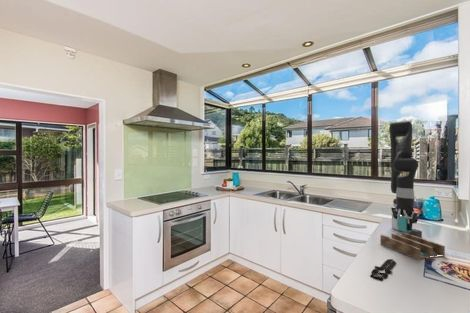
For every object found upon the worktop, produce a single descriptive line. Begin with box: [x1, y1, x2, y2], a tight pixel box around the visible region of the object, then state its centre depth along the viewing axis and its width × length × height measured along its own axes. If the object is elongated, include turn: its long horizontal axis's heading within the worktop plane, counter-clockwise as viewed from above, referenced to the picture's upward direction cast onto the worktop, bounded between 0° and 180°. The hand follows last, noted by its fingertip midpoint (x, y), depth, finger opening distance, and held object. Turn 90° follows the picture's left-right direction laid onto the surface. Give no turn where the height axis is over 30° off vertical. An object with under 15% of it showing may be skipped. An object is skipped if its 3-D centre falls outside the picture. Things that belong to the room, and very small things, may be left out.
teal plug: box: [397, 216, 412, 233], centre depth 116 cm, size 4×4×7 cm
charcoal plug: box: [408, 228, 423, 238], centre depth 127 cm, size 4×4×7 cm
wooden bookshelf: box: [379, 232, 446, 261], centre depth 117 cm, size 20×18×5 cm
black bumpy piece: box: [369, 258, 397, 282], centre depth 96 cm, size 25×6×1 cm, turn 127°
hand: (404, 229), depth 116 cm, fingers closed on teal plug, 4 cm apart
